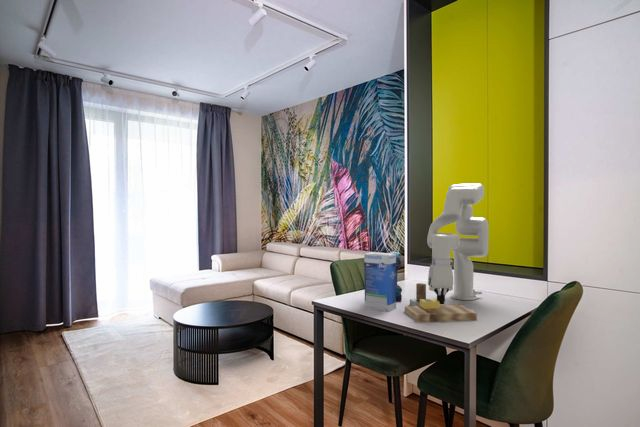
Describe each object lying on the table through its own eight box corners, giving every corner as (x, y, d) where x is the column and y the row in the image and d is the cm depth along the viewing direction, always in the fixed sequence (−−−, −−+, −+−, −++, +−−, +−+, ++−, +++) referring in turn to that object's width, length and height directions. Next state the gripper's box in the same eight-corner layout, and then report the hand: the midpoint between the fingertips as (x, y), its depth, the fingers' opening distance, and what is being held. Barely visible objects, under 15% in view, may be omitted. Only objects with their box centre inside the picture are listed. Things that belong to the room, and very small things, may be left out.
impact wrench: (398, 295, 196) (399, 249, 196) (404, 305, 173) (404, 253, 173) (384, 294, 197) (384, 248, 196) (388, 305, 174) (388, 253, 174)
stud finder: (434, 305, 161) (434, 298, 161) (439, 308, 156) (439, 301, 156) (419, 306, 161) (419, 298, 161) (424, 308, 156) (424, 301, 156)
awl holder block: (425, 305, 174) (425, 298, 174) (432, 309, 166) (432, 302, 166) (409, 305, 173) (409, 299, 173) (416, 309, 166) (416, 303, 166)
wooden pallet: (459, 310, 164) (459, 304, 164) (477, 320, 150) (477, 313, 150) (404, 312, 161) (404, 305, 161) (417, 322, 147) (417, 315, 147)
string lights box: (396, 309, 166) (396, 253, 166) (389, 312, 160) (389, 255, 160) (371, 304, 175) (371, 251, 175) (363, 308, 169) (363, 253, 169)
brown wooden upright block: (423, 305, 172) (423, 283, 172) (427, 307, 168) (427, 284, 168) (414, 305, 172) (414, 283, 172) (418, 307, 168) (418, 285, 168)
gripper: (452, 260, 164) (452, 301, 164) (421, 261, 162) (421, 302, 162) (461, 263, 156) (461, 305, 156) (428, 263, 154) (428, 306, 154)
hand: (440, 303), depth 159 cm, fingers closed
